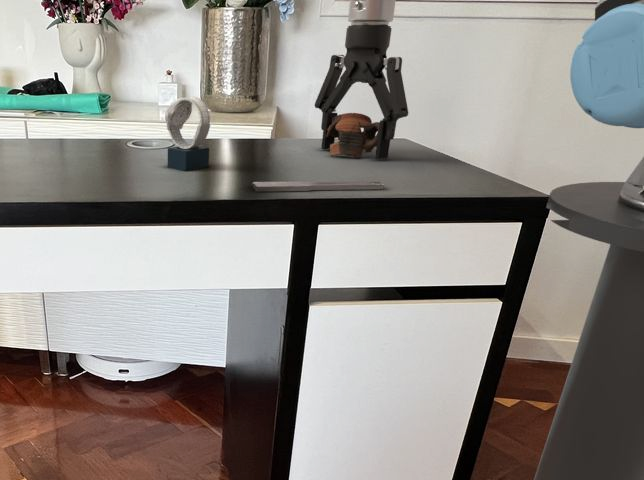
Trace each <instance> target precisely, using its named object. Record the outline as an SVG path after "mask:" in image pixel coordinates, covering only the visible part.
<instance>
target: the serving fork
mask: <svg viewBox="0 0 644 480" xmlns="http://www.w3.org/2000/svg"><path fill="white" fill-rule="evenodd" d="M384 186H385V184H384V183H382V182H381V181H309V182H308V181H253V182H252V188H253V190H254V191H255V192H256V193H266V192H268V193H269V192H270V193H271V192H272V193H273V192H275V193H276V192H278V193H279V192H280V193H281V192H311V191H370V190H371V191H372V190H373V191H375V190H384Z"/></svg>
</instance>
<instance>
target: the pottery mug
mask: <svg viewBox="0 0 644 480" xmlns="http://www.w3.org/2000/svg"><path fill="white" fill-rule="evenodd" d="M379 125H380V121H375V122H372V118H371V117H369V116H368V115H367V114H365V113H364V114H363V113H359V112H347V113H346V112H345V113H341V114H337V116H335V117H334V118H333V119H332V124H331V125H330V126H329V127H328V129H327V130H328V132H327V135H326V137H328V136H332V137H334V138H335V139H337V140H338V141H336V142H334V144H331V145H330V149H329V150H330V151H329V153H330V157H335V156H347V157H356V158H361V157H362V155H363V152H364V150H365V152H366V153H367V154H368V153H372V151H373V150H374V148H376V146H377V139H378V132H379ZM362 129H363V131H362Z"/></svg>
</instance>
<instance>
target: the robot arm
mask: <svg viewBox="0 0 644 480" xmlns="http://www.w3.org/2000/svg"><path fill="white" fill-rule="evenodd" d="M396 3H397V2H396V0H349V8H348V17H347V21H348V22H349V23H350V25H348V26H347V27H346V33H345V39H344V40H345V42H344V48H345V49H346V53H345V55H344V54H332V55H331V57H330V62H329V68H328V71H327V73H326V75H325V78H324V80H323V83H322V85H321V88H320V91H319V92H318V94H317V97H316V100H315V102H314V108H315V109H319V110H320V111H321V112H322V113H321V115H322V116H321V125H320V128H321V131H322V138H321V146H320V147H321V150H330V145H331V144H334V143H335V140H336V138H334V137H332V136H328V137H326V135H327V132H328V130H327V129H328V127H329V126H330V125H331V124H332V119H333V118H334V117H335V116H337V115H339V114H338V113H339V112H337V110H336V109H337V107H338V106H339V104H340V103H341V102H342V100H343V99H344V97H345V96H346V95H347V93H348V92H349V91H350V89H351V87H352V86H353V85H354V84H356V83H362V84H368V86H369V87H370V88H371V89H372V92H373V94H374V96H375V99H376V101H377V103H378V106H379V109H380V111H381V114H382V115H383V118H382V120H379V122H380V125H379V132H378V131H377V132H378V139H377V146H376V147H375V154H374V160H383V159H388V158H389V152H390V144H391V141H392V140H394V138H395V135H396V134H395V132H396V127H397V122H398V120H399V119H402V118H406V117H408V116H409V107H408V103H407V97H406V91H405V85H404V81H403V76H402V75H403V74H402V66H403V58H402V57H401V56H390V57H388V56H387V51H388V49H389V47H390V43H391V36H392V29H393V28H392V27H391V25H389V24H390V23H392V22H393V21H394V17H395V9H396ZM581 39H582V41H581V42H580V43H579V44H577V46H575V49H574V51H573V53H572V58H571V63H570V71H569V72H570V73H569V74H570V75H569V76H570V86H571V90H572V94H573V96H574V98H575V100H576V102H577V104H578V106H579V107H580V108H581V109H582V111H583V112H584V113H585V114H587V115H589V116H590V117H591V118H592V119H594V120H595V121H596V122H599V123H601V124H604V125H607V126H613V127H625V128H630V129H644V0H598V2H597V3H596V4H595V6H594V22H593V23H592V24H590V25H589V26H588V28H586V30H585V32H584V33H583V34H582V36H581ZM344 68H345V70H344ZM343 70H344V71H343ZM383 70H385V71H386V75H385V74H384V71H383ZM386 82H387V83H386ZM624 182H625V184H624V185H623V188H622V189H621V193H620V196H619V199H618V201H619V202H620V203H621V204H623V205H624V206H626V207H629V208H631V209H634V210H637V211H641V212H644V156H643V157H642V158H641V159H640V161H639V162H638V164H637V165H636V166H635V168H634V169H633V171H632V172H631V173H630V174H629V176H628V178H627V179H626V181H624Z"/></svg>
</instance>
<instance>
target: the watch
mask: <svg viewBox="0 0 644 480" xmlns="http://www.w3.org/2000/svg"><path fill="white" fill-rule="evenodd" d="M192 106H194V107H195V108H196V110H197V112H198V116H199V121H198V125H197V127H196V130H195V134H194V136H193V138H192V139H191V144H189V143H188V142H186V141H185V139H184V137H183V135H182V133H181V130H182V129H183V127H184V125H185V123H186V122H187V120H189V118H190V116H191V115H192V111H193V107H192ZM164 121H165V122H166V130H167V131H168V133H169V137H170V139H171V140H172V142H173V143H174V144H175V146H173V147H167V168H169V169H175V170H179V171H183V172H187V171H193V170H198V169H204V168H209V165H210V147H208V146H202V145H203V144H204V143H205V141H206V140H207V137H208V135H209V131H210V129H211V124H210V123H211V116H210V112H209V108H208V106H207V104H206V103H205V102H204V100H202V99H201V98H200V97H197V96H190V97H179V98H177V99H175V100H174V101H172V102H171V103H170V105H169V106H168V107H167V109H166V110H165V114H164Z"/></svg>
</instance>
